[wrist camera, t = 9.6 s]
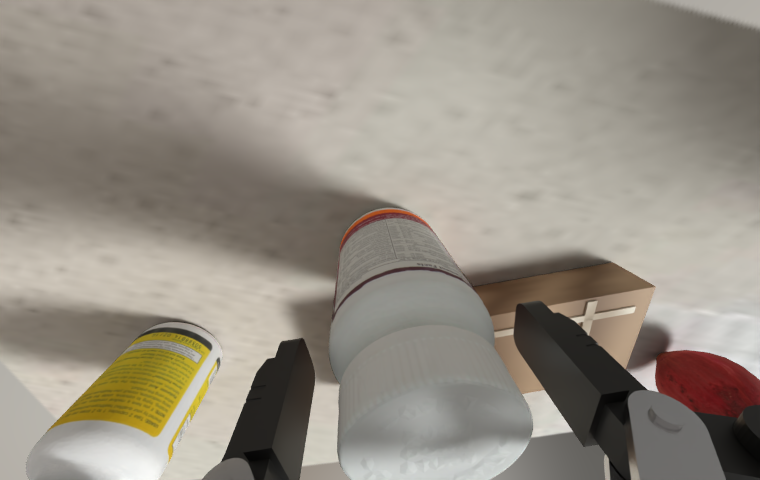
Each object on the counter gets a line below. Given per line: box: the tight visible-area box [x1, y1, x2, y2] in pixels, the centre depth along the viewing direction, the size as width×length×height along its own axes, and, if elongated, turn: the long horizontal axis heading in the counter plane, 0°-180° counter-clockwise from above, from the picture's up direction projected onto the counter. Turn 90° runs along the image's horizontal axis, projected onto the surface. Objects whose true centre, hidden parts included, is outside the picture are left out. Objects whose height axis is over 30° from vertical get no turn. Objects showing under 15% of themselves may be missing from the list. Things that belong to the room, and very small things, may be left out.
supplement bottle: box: [26, 322, 223, 480], centre depth 14 cm, size 5×5×10 cm
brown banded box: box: [473, 262, 655, 394], centre depth 19 cm, size 20×8×3 cm, turn 98°
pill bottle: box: [329, 208, 533, 480], centre depth 12 cm, size 6×6×11 cm
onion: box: [655, 350, 760, 418], centre depth 20 cm, size 6×6×8 cm
